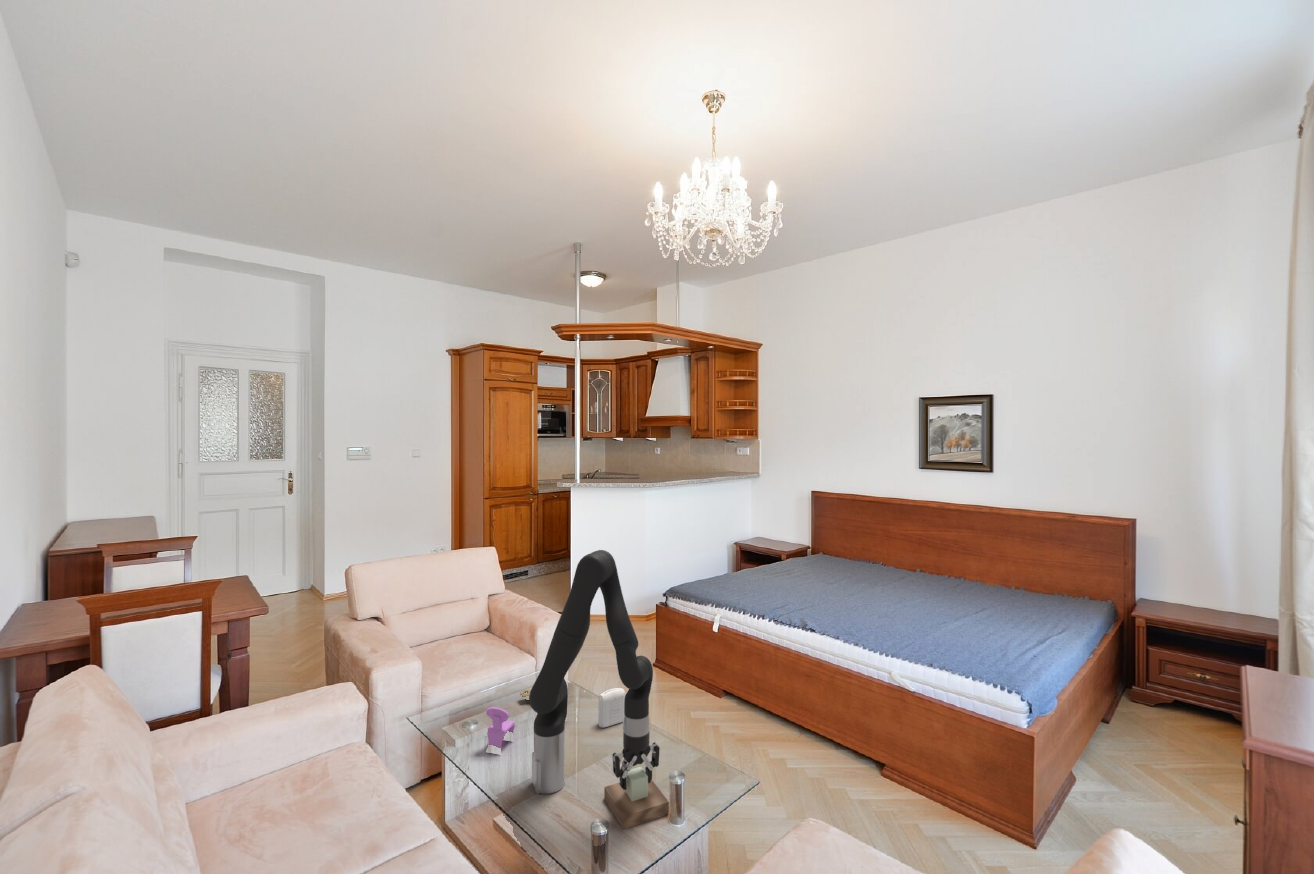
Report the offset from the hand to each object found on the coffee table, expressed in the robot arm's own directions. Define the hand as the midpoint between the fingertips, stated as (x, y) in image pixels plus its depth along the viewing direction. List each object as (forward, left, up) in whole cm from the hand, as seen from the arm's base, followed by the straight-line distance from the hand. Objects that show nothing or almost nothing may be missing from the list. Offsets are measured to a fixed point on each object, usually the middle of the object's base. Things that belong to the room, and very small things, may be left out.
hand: (636, 784), depth 169 cm
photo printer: (+10, +45, -6) cm, 47 cm away
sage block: (0, 0, -3) cm, 3 cm away
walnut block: (0, 0, -7) cm, 7 cm away
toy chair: (-30, +46, -7) cm, 55 cm away
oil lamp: (-10, +70, -7) cm, 71 cm away
